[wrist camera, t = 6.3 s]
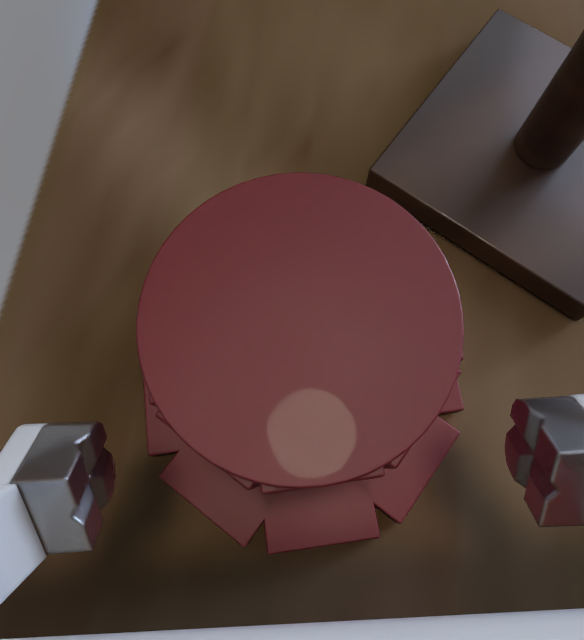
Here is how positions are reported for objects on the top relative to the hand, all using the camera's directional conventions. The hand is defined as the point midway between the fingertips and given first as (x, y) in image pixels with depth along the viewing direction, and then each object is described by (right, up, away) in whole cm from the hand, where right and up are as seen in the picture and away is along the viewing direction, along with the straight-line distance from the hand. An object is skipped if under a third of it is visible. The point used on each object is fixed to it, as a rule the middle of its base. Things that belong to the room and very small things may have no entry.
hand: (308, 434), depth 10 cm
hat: (0, 0, +7) cm, 7 cm away
